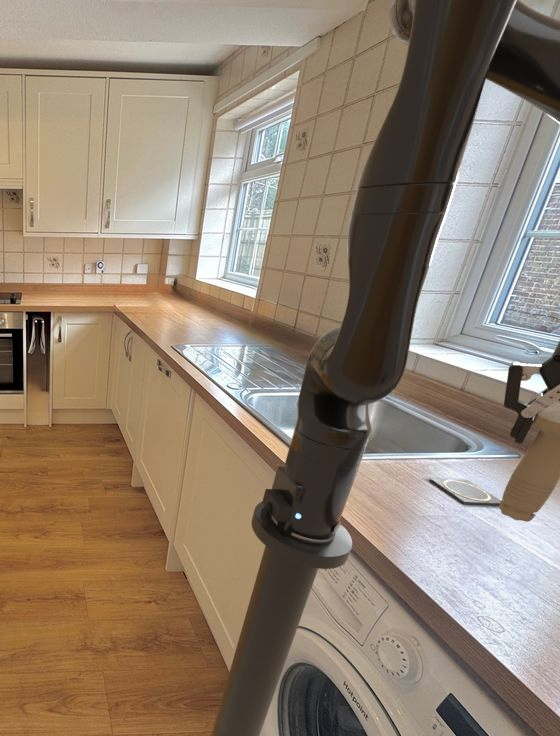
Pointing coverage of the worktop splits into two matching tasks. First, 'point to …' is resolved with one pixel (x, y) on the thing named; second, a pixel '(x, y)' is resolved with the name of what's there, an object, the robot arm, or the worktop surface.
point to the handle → (535, 471)
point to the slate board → (466, 492)
